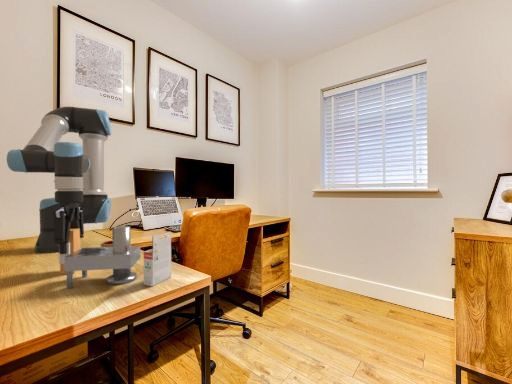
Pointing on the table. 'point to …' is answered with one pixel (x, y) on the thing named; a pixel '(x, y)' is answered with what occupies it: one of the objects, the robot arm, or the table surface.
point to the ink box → (158, 260)
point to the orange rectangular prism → (72, 246)
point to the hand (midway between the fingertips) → (70, 260)
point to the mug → (107, 244)
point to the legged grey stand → (106, 259)
